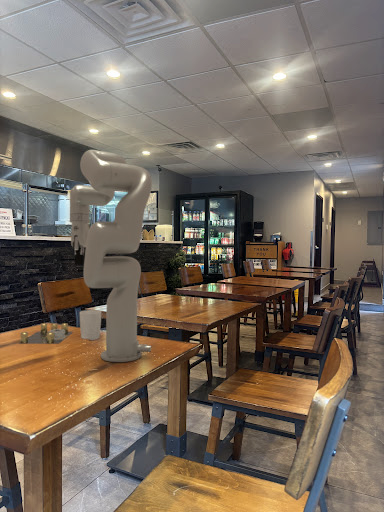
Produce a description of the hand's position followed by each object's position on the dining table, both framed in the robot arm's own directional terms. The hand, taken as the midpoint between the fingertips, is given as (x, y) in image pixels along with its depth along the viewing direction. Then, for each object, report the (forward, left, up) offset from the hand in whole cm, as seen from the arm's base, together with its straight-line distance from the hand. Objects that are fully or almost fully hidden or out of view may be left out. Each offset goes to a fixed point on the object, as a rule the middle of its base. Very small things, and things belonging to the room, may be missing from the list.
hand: (79, 264), depth 149 cm
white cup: (-7, +11, -27) cm, 30 cm away
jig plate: (+8, +12, -27) cm, 31 cm away
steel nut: (+5, +12, -26) cm, 29 cm away
